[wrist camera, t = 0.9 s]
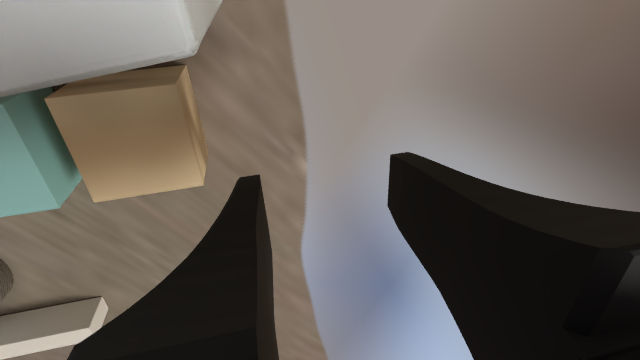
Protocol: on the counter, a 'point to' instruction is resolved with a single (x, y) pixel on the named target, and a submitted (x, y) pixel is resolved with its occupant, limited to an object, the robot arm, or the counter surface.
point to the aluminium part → (5, 280)
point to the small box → (94, 38)
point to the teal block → (32, 156)
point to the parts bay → (50, 327)
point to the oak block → (133, 131)
